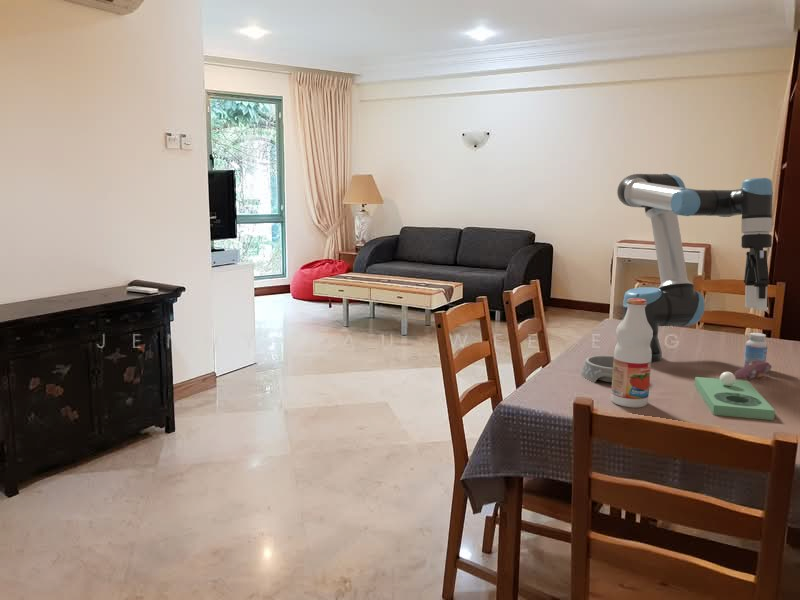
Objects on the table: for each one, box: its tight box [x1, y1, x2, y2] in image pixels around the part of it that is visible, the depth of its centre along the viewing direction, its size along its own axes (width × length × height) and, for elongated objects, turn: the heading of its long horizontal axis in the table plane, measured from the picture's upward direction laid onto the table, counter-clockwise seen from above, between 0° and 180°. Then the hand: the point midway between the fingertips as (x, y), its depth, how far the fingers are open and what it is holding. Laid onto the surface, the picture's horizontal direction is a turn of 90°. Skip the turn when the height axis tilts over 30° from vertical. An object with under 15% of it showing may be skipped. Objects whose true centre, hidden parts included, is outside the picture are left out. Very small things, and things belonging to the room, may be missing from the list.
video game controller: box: [734, 360, 773, 380], centre depth 199 cm, size 10×5×7 cm, turn 114°
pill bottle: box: [743, 332, 768, 367], centre depth 210 cm, size 6×6×11 cm
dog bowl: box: [580, 355, 614, 384], centre depth 198 cm, size 17×18×5 cm
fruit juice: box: [610, 298, 653, 409], centre depth 173 cm, size 9×9×28 cm
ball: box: [719, 371, 737, 386], centre depth 183 cm, size 4×4×4 cm
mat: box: [693, 376, 776, 421], centre depth 178 cm, size 26×14×2 cm, turn 166°
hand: (755, 309), depth 186 cm, fingers open, 13 cm apart
